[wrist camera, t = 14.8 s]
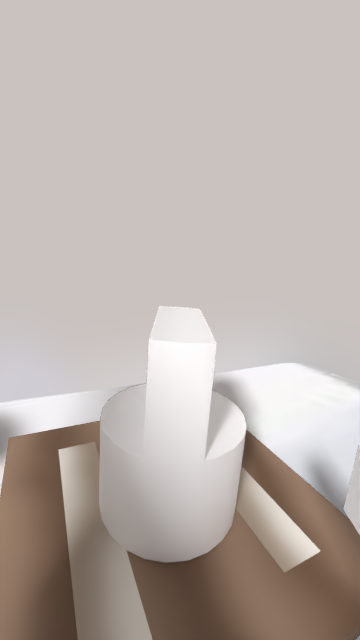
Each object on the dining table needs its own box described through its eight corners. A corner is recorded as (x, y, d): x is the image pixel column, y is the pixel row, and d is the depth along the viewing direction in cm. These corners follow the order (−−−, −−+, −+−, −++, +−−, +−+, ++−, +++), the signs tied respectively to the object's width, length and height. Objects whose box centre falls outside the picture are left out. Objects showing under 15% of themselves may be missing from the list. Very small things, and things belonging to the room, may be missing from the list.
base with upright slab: (115, 445, 23) (118, 302, 21) (222, 450, 24) (239, 311, 21) (79, 559, 14) (77, 336, 12) (251, 565, 15) (286, 349, 12)
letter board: (-71, 1010, 6) (-76, 993, 6) (9, 446, 24) (9, 437, 23) (412, 589, 15) (416, 576, 15) (211, 405, 32) (212, 399, 32)
